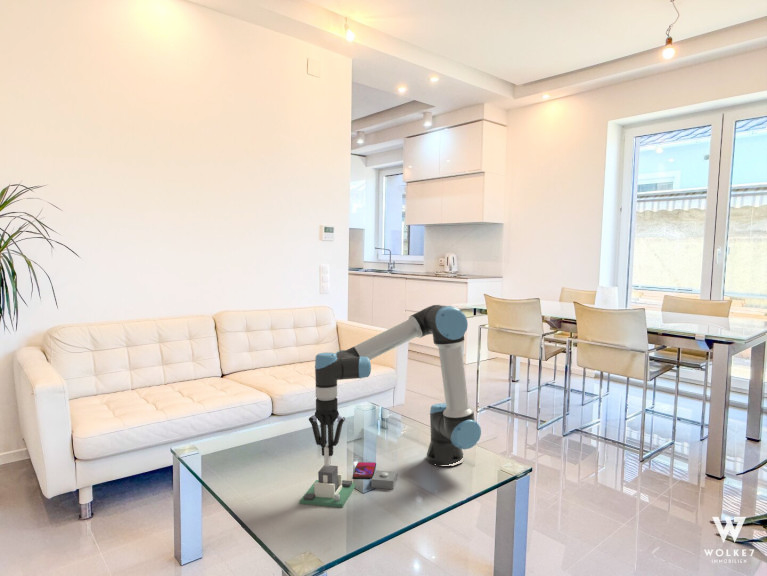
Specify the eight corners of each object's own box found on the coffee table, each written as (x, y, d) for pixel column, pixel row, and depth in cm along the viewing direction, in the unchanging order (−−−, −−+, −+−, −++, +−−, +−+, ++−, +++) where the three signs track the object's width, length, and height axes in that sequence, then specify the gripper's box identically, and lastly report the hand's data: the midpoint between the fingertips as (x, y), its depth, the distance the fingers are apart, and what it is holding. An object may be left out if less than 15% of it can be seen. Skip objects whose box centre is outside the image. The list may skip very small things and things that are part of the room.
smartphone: (376, 462, 196) (372, 477, 181) (376, 464, 196) (372, 479, 181) (357, 462, 197) (352, 477, 182) (357, 464, 197) (352, 479, 182)
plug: (338, 488, 171) (337, 466, 171) (332, 495, 165) (332, 472, 165) (324, 487, 172) (324, 464, 172) (318, 494, 166) (318, 471, 166)
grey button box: (397, 479, 180) (397, 470, 180) (393, 489, 172) (393, 479, 172) (376, 478, 182) (376, 468, 182) (371, 487, 174) (371, 477, 174)
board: (355, 486, 175) (355, 470, 175) (342, 507, 159) (342, 490, 159) (316, 483, 178) (315, 468, 178) (299, 503, 163) (299, 487, 162)
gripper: (347, 395, 170) (348, 461, 171) (312, 394, 173) (313, 459, 174) (341, 401, 163) (342, 470, 163) (304, 399, 165) (306, 467, 166)
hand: (327, 464), depth 168 cm, fingers closed
